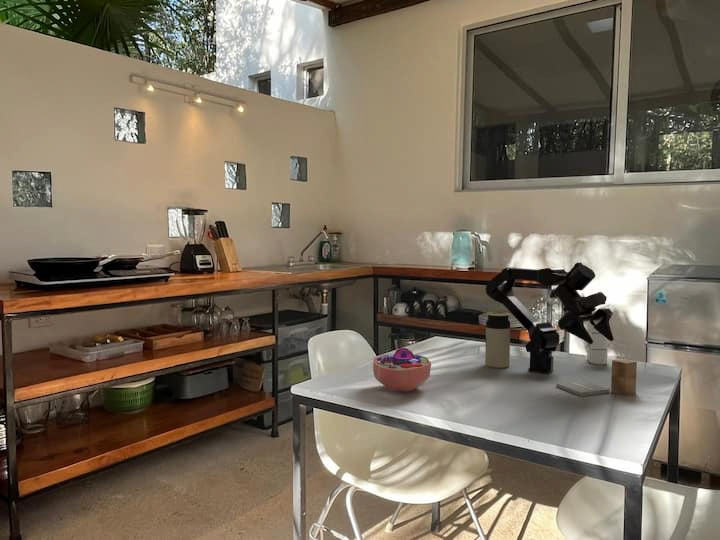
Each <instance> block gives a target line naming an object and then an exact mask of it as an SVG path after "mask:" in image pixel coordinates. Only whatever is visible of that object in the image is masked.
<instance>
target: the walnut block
mask: <svg viewBox="0 0 720 540" xmlns="http://www.w3.org/2000/svg"><path fill="white" fill-rule="evenodd" d="M637 363H638V362H637V361H636V360H630V359H626V358H617V359H616V358H615V359H612V360H611V378H610V379H611V381H610V382H611V383H610V385H611V386H610V392H611V393H615V394H618V395H622V396H625V397H626V396H629V395H634V394H636V393H637V392H636V391H637V368H638V367H637V365H638V364H637Z"/></svg>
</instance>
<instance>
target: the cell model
mask: <svg viewBox="0 0 720 540" xmlns="http://www.w3.org/2000/svg"><path fill="white" fill-rule="evenodd" d="M431 369H432V361H430V360H429V357H425V356H423V355H419V354H414V353H413V351H412V350H411V349H409V348H406V347H400V348H398V349H397V350H396V351H395V352H394V353H393V354H382V355H380V356H377V357H374V358H373V359H372V371H373V375H374V379H376V381H378V382H379V383H380V384H381V385H383V386H384V387H385V388H387V389H388V390H390V391H392V392H404V393H405V392H406V393H407V392H411V391H413V390H416V389H418V388H420V387H421V386H423V385H424V384H425V383H426V382H427V381H428V380H429V378H430V376H431Z"/></svg>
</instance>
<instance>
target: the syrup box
mask: <svg viewBox="0 0 720 540" xmlns="http://www.w3.org/2000/svg"><path fill="white" fill-rule="evenodd" d="M593 327H594V326H593V325H591V323H590V322H589V321H588V322H587V331H588V333H589V335H590V336H591V338H592V340H593V343H592V344H589V343H587V342H586V344H587V346H586V347H587V348H586V349H587V351H586V352H587V353H586V354H587V355H586V358H587V359H586V360H587V361H588V362H589V363H590V364H593V363H594V365H595V364H597V365H607V364H608V345H609V344H608V341H609V340H608V339H607V338H606V337H604V336H603V335H602V334H601V333H599V332H598V331H597V330H596V329H594V328H593Z"/></svg>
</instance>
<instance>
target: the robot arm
mask: <svg viewBox="0 0 720 540" xmlns="http://www.w3.org/2000/svg"><path fill="white" fill-rule="evenodd" d="M595 278H596V273H595V271H594V270H593V269H592V268H590V267H588V266H587V265H584V264H583V263H582V262H576V263H575V264H574V265H573V266H572V268H571V269H570V270H569V271H566V270H565V268H563V267H547V268H537V269H534V268H523V267H522V268H520V267H518V268H517V267H515V266H513V267H512V266H511V267H510V266H509V267H505V268H503V269H502V270H501V271H500V272H499V273H498V274H497V275H495V276H494V277H492V278H491V279H490V281H488V282H487V284H486V285H485V294H486V295H487V297H489V298H490V299H492V300H493V301H495V302H497V303H499V304H501V305H503V307H505V309H507V311H508V312H510V313H511V315H512V316H513V317H514V318H515V319H516V320H517V321H518V322H519V324H521V326H523V327H524V329H525V330H526V331H527V332H528V338H529V341H528V342H527V343H526V344H525V350H526V352H527V353H529V367H528V368H527V371H530V372H537V373H544V374H549V373H550V372H552V371H553V370H554V356H553V352H556V350H557V347H558V346H559V344H560V340H561V339H560V334H559V332H557V331H558V329H557V328H555V327H554V326H553V325H552V323H550V322H541V321H540V320H539V319H538V318H537V317H535V315H533V314H532V313H531V312H530V311H529V309H528V308H527V307H526V306H525V305H524V304H523V303H522V302H521V301H520V300H519V299H518V298H517V297H516V296H515V294H514V289H513V287H514V286H515V284H516V280H518V281H519V280H520V281H521V280H522V281H531V282H532V281H533V282H536V283H538V284H540V285H543V286H546V287H554V286H555V287H556V288H554V289H551V290H550V294H549V298H550V299H558V300H559V301H560V302H561V304H562V305H563V308H562V310H563V312H565V313H564V314H562V315H563V316H561V318H560V319H558V320H557V325H558V326H557V327H558V328H559V329H560V330H561V331H564V332H566V333H568V334H571V335H573V336H575V337H577V338H579V339H580V340H582V341H584V342H585V343H586V344H587V343H589V344H592V343H593V340H592V338H591V336H590V335H589V333H588V329H586V327H585V325H584V323H586V322H587V323H588V321H589V322H590V323H591V325H593V326H594V327H593V328H594V329H596V330H597V331H598V332H599V333H601V334H602V335H603V336H604V337H606V338H607V339H608V341H609V342H613V341H614V339H615V338H614V336H613V332H612V330H611V329H612V328H611V326H610V320H611V319H612V316H613V315H614V313H613V312H612V310H611V309H610V308H605V307H604V308H598V309H597V308H596V307H599V306H601V305H602V306H604V305H605V304H607V303H606V302H607V299H608V297H607V295H605V294H604V293H603V292H602V291H597V292H596V293H593V294H589V295H587V296H582V295H580V294H579V292H578V291H584V289H585V288H586V287H587V286H589V284H591V282H593V280H594V279H595ZM593 312H594V313H593ZM510 313H509V314H510Z"/></svg>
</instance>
